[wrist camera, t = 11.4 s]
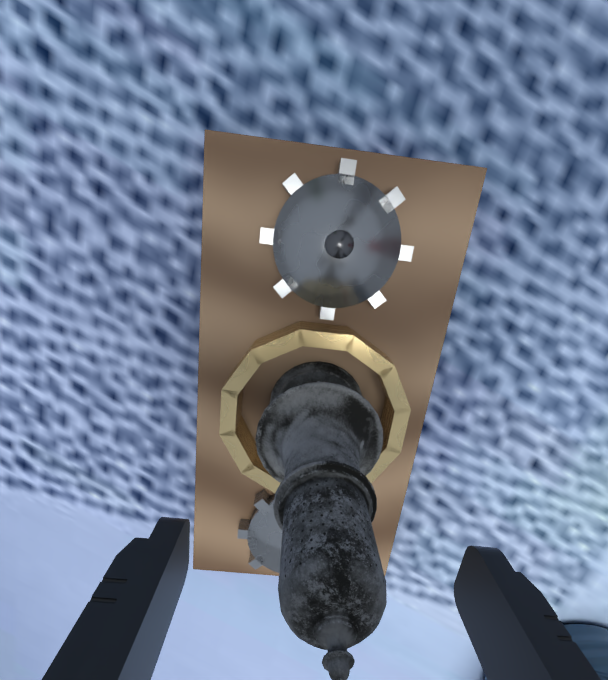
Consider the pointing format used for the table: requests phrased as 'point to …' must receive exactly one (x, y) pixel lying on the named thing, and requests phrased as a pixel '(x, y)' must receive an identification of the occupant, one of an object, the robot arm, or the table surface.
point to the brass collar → (318, 337)
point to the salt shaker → (325, 508)
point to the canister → (591, 646)
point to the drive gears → (327, 278)
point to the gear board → (314, 313)
